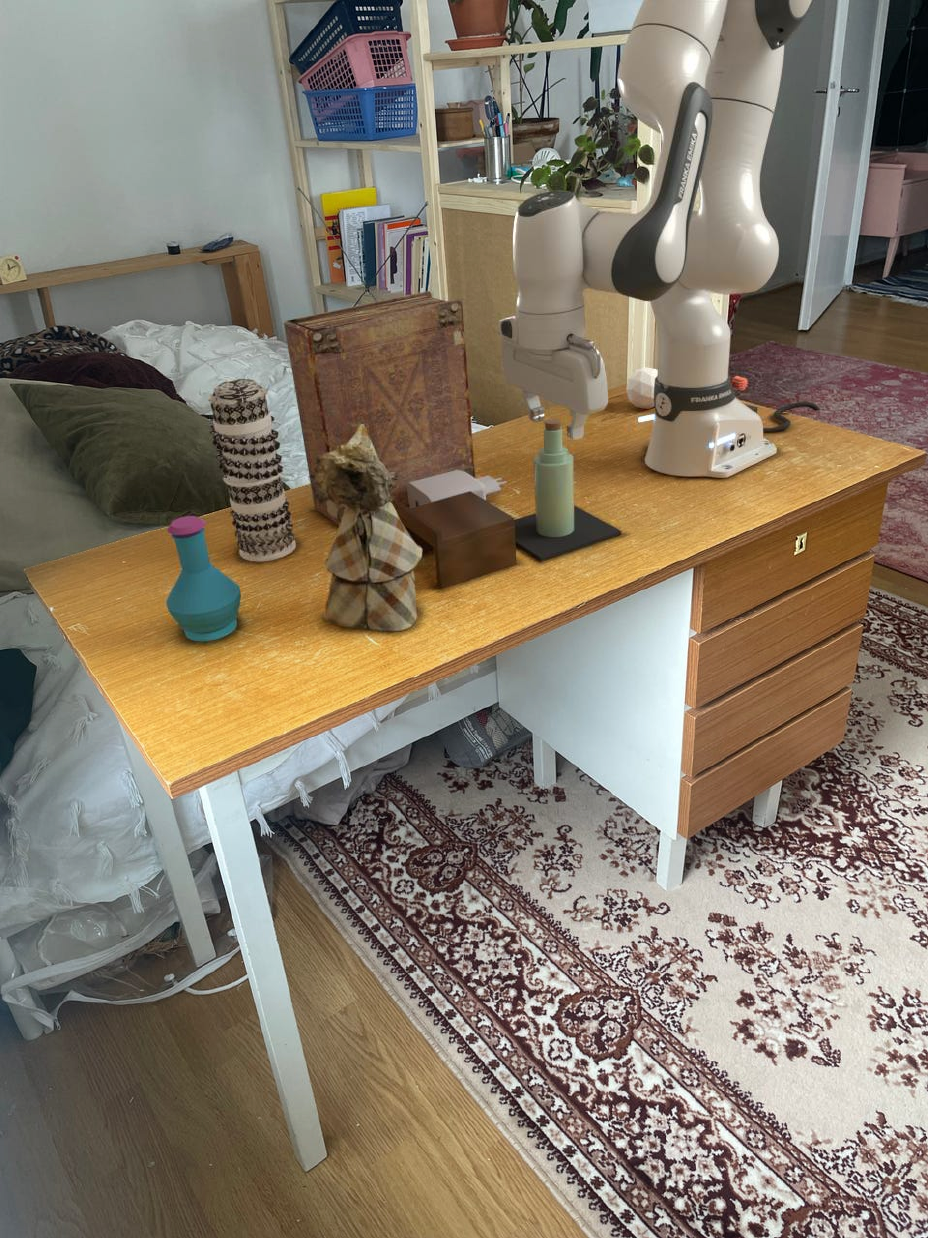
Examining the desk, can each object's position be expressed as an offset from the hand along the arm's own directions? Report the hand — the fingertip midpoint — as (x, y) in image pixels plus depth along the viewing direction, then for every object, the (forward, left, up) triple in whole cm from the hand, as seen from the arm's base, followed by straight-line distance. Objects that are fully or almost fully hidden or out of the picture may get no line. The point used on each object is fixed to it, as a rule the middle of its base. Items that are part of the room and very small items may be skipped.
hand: (555, 428), depth 131 cm
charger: (+6, -17, -16) cm, 24 cm away
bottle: (+1, 0, -15) cm, 15 cm away
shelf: (+16, -1, -16) cm, 23 cm away
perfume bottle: (+51, -4, -16) cm, 54 cm away
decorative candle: (+37, -22, -16) cm, 46 cm away
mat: (0, 0, -16) cm, 16 cm away
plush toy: (+31, +6, -16) cm, 36 cm away
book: (+13, -27, -16) cm, 34 cm away
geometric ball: (-46, -36, -16) cm, 60 cm away
